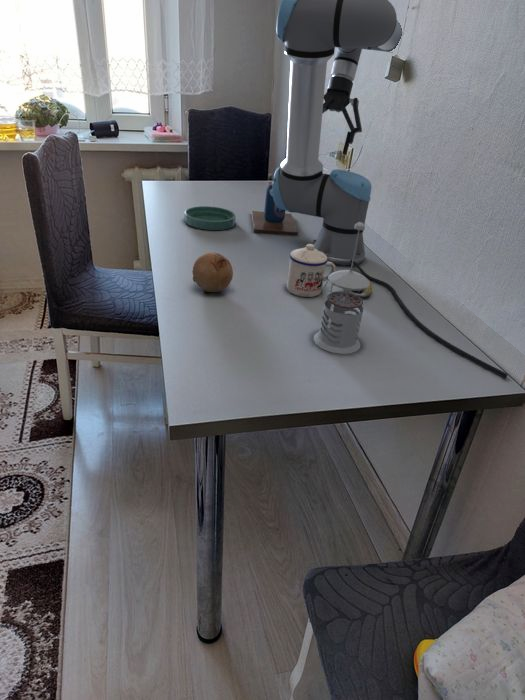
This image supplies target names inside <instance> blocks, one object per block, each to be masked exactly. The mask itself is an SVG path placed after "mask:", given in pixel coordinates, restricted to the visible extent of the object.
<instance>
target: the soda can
mask: <svg viewBox="0 0 525 700" xmlns="http://www.w3.org/2000/svg"><path fill="white" fill-rule="evenodd" d="M273 182H274V181H270V182H268V185H267V186H266V188H265V189H266V191H265V200H264V209H263V212H264V218H265V220H266V221H267V222H269V223H274V224H278V223H282V221H283V220H284V218H285V214H286V210H282V209H280V208H278V207H277V206H276V204H275V202H274V199H273V190H272V186H273Z"/></svg>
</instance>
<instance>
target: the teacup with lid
mask: <svg viewBox="0 0 525 700" xmlns="http://www.w3.org/2000/svg"><path fill="white" fill-rule="evenodd" d="M288 266H289V267H288V274H287V282H286V290H287V291H288V292H289V293H290V294H292V295H295V296H298V297H303V298H313V297H317V296H319V295H320V294H321V293H322V290H323V285H324V284H323V283H324V282H327V280H329V279H328V276H329V275H330V274H331V273H333V272H336V265H334V264H333V263H332V262H328V259H327V256H326V255H325V254H324V253H322V252H320V251H318V250H317V249H315V246H314V244H313V243H307V244H306V245H305V246H304V247H301V248H295V249H293V250H292V251H290V254H289V265H288ZM327 266H330V267H331V270H330V272H329V274H328V275H327V276H325V272H326V267H327Z"/></svg>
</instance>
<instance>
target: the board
mask: <svg viewBox="0 0 525 700" xmlns="http://www.w3.org/2000/svg"><path fill="white" fill-rule="evenodd" d="M250 212H251V213H250V215H251V223H252V229H253V233H254V234H265V235H277V236H278V235H279V236H293V237H298V234H299V231H298V229H297V226H296V223H295V221H294V217H293V216H292V215H293V214H292V213H285V218H284V220H283V221H282V223H278V224H274V223H269V222H267V221H266V220H265V218H264V211H257V210H251V211H250Z"/></svg>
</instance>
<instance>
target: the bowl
mask: <svg viewBox="0 0 525 700" xmlns="http://www.w3.org/2000/svg"><path fill="white" fill-rule="evenodd" d="M184 222H185V224H186V225H187V226H190V227H193V228H195V229H201V230H207V231H222V230H229V229H231V228H234V226H235V225H236V213H235V212H234V211H231V210H229V209H227V208H224V207H218V206H206V205H205V206H203V205H201V206H200V205H199V206H192V207H189V208H187V209H185V210H184Z"/></svg>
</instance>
